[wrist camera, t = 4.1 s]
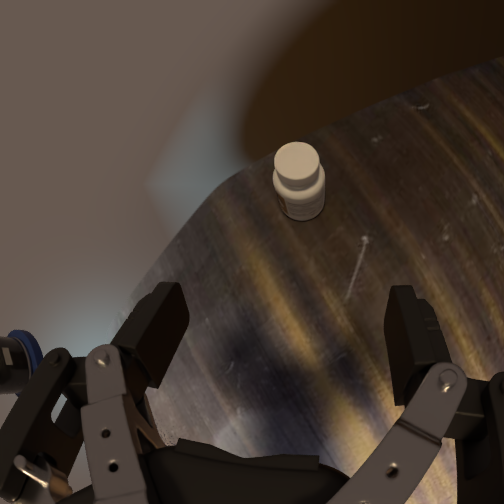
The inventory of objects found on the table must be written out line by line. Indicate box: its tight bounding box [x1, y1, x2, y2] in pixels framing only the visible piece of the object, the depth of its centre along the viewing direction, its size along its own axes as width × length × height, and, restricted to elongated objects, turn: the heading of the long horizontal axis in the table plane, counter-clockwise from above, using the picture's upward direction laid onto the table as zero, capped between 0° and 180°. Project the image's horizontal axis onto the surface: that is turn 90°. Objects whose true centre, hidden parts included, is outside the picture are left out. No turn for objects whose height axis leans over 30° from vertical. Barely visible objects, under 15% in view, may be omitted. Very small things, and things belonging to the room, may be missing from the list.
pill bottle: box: [273, 142, 325, 221], centre depth 25 cm, size 4×4×8 cm
